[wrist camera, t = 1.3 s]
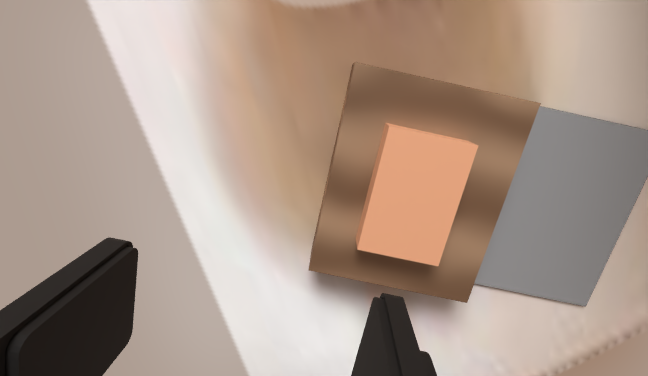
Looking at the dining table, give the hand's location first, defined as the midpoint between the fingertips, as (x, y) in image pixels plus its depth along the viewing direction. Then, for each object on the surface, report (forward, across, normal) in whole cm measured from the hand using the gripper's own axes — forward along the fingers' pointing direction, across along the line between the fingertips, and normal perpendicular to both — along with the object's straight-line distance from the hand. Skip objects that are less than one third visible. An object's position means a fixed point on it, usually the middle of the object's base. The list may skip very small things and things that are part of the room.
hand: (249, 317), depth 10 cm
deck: (+22, -8, 0) cm, 23 cm away
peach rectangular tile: (+18, -8, 0) cm, 19 cm away
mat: (+22, -22, 0) cm, 30 cm away
